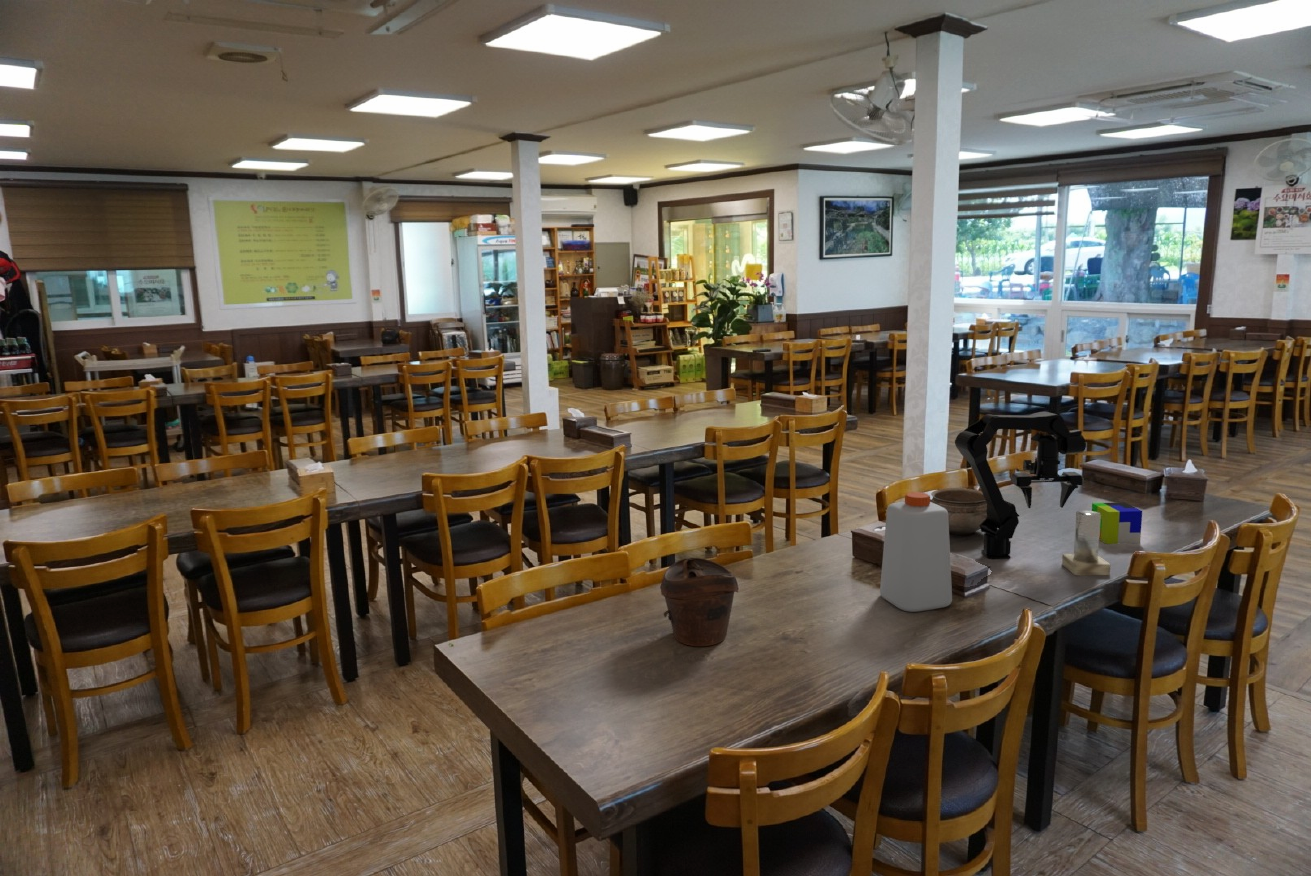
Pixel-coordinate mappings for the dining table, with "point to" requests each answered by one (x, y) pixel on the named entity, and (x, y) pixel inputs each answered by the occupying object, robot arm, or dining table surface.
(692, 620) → the brown lidded bucket
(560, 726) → the dining table surface
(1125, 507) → the puzzle toy
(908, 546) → the plastic bottle
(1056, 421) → the robot arm
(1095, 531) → the metal cylinder
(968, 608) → the dining table surface
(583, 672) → the dining table surface
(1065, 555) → the birch block
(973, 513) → the cooking pot
